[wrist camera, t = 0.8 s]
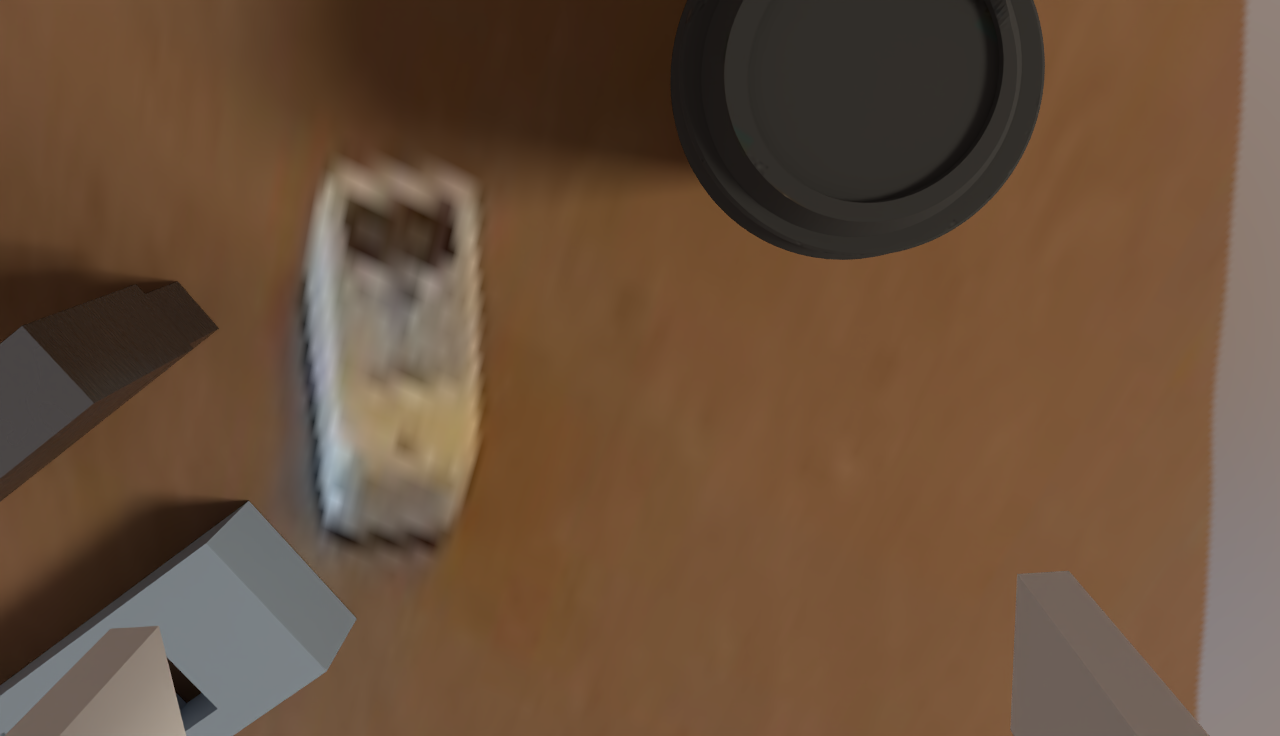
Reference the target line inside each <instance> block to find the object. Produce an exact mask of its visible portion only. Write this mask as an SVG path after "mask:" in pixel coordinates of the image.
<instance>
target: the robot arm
mask: <svg viewBox="0 0 1280 736" xmlns="http://www.w3.org/2000/svg"><path fill="white" fill-rule="evenodd" d="M1011 732H1012V733H1013V735H1014V736H1209V735H1208V734H1207V733H1206V731H1205V730H1204V729H1203V728H1202V727H1201V726H1200V724H1199V723H1198V722H1197V721H1196V720H1195V718H1194V717H1193V716H1192V715H1191V714H1190V713H1189V711H1188V710H1187V709H1186V708H1185V707H1184V706H1183V704H1182V703H1181V702H1180V701H1179V700H1178V698H1177V697H1176V696H1175V695H1174V694H1173V693H1172V691H1171V690H1170V689H1169V688H1168V687H1167V686H1166V684H1165V683H1164V682H1163V681H1162V680H1161V679H1160V677H1159V676H1158V675H1157V674H1156V673H1155V671H1154V670H1153V669H1152V668H1151V667H1150V666H1149V664H1148V663H1147V662H1146V661H1145V660H1144V659H1143V657H1142V656H1141V655H1140V654H1139V653H1138V652H1137V650H1136V649H1135V648H1134V647H1133V646H1132V644H1131V643H1130V642H1129V641H1128V640H1127V639H1126V637H1125V636H1124V635H1123V634H1122V633H1121V632H1120V630H1119V629H1118V628H1117V627H1116V626H1115V625H1114V623H1113V622H1112V621H1111V620H1110V619H1109V617H1108V616H1107V615H1106V614H1105V613H1104V612H1103V610H1102V609H1101V608H1100V607H1099V606H1098V605H1097V603H1096V602H1095V601H1094V600H1093V599H1092V598H1091V596H1090V595H1089V594H1088V593H1087V592H1086V590H1085V589H1084V588H1083V587H1082V586H1081V585H1080V583H1079V582H1078V581H1077V580H1076V579H1075V578H1074V576H1073V575H1072V574H1071V573H1070V572H1069V571H1061V572H1044V573H1028V574H1017V592H1016V615H1015V639H1014V662H1013V685H1012V708H1011ZM5 736H186V733H185V729H184V725H183V721H182V717H181V713H180V709H179V705H178V701H177V697H176V693H175V689H174V685H173V681H172V677H171V673H170V669H169V665H168V661H167V657H166V653H165V648H164V644H163V640H162V636H161V632H160V628H159V626H147V627H131V628H114V629H110V630H109V631H108V632H107V633H106V634H105V635H104V636H103V637H102V638H101V639H100V640H99V641H98V642H97V643H96V644H95V645H94V646H93V647H92V648H91V649H90V650H89V651H88V652H87V653H86V654H85V655H84V656H83V657H82V658H81V659H80V660H79V661H78V662H77V663H76V664H75V665H74V666H73V667H72V668H71V669H70V670H69V671H68V672H67V673H66V674H65V675H64V676H63V677H62V678H61V679H60V680H59V681H58V682H57V683H56V684H55V685H54V686H53V687H52V688H51V689H50V690H49V691H48V692H47V693H46V694H45V695H44V696H43V697H42V698H41V699H40V700H39V701H38V702H37V703H36V704H35V705H34V706H33V707H32V708H31V710H30V711H29V712H28V713H27V714H26V715H25V716H24V717H23V718H22V719H21V720H20V721H19V722H18V723H17V724H16V725H15V726H14V727H13V728H12V729H11V730H10V731H9V732H8V733H7V734H6V735H5Z"/></svg>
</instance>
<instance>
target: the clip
mask: <svg viewBox="0 0 1280 736" xmlns="http://www.w3.org/2000/svg"><path fill="white" fill-rule="evenodd" d="M217 329H219V328H218V327H217V326H216V325H215V324H214V323H213V321H212V320H211V319H210V318H209V317H208V316H207V315H206V313H205V312H204V311H203V310H202V309H201V308H200V307H199V305H198V304H197V303H196V302H195V301H194V300H193V299H192V297H191V296H190V295H189V294H188V293H187V292H186V291H185V289H184V288H183V287H182V286H181V285H180V284H179V283H178V282H175V283H172V284H169V285H167V286H164V287H162V288H159V289H157V290H154V291H152V292H149V293H146V294H144V292H143V291H142V290H141V289H140V288H139V287H138V286H137V285H136V284H135V285H132V286H130V287H127V288H124V289H122V290H119V291H116V292H113V293H111V294H108V295H105V296H102V297H100V298H97V299H94V300H91V301H89V302H86V303H83V304H81V305H78V306H75V307H72V308H70V309H67V310H64V311H61V312H59V313H56V314H53V315H50V316H48V317H45V318H42V319H40V320H37V321H34V322H31V323H29V324H26V325H23V326H21V327H20V328H19V329H18V330H17V331H15V332H14V333H13V334H12V335H11V336H9V337H8V338H7V339H6V340H5V341H3V342H2V343H1V344H0V502H1V501H2V500H3V499H4V498H6V497H7V496H8V495H9V494H11V493H12V492H13V491H14V490H16V489H17V488H18V487H19V486H21V485H22V484H23V483H24V482H26V481H27V480H28V479H30V478H31V477H32V476H33V475H35V474H36V473H37V472H38V471H40V470H41V469H42V468H43V467H45V466H46V465H47V464H48V463H50V462H51V461H52V460H53V459H55V458H56V457H57V456H59V455H60V454H61V453H62V452H64V451H65V450H66V449H67V448H69V447H70V446H71V445H72V444H74V443H75V442H76V441H77V440H79V439H80V438H81V437H83V436H84V435H85V434H86V433H88V432H89V431H90V430H91V429H93V428H94V427H95V426H96V425H98V424H99V423H100V422H101V421H103V420H104V419H105V418H106V417H108V416H109V415H110V414H112V413H113V412H114V411H115V410H117V409H118V408H119V407H120V406H122V405H123V404H124V403H125V402H127V401H128V400H129V399H130V398H132V397H133V396H134V395H135V394H137V393H138V392H139V391H141V390H142V389H143V388H144V387H146V386H147V385H148V384H149V383H151V382H152V381H153V380H154V379H156V378H157V377H158V376H159V375H161V374H162V373H163V372H164V371H166V370H167V369H168V368H170V367H171V366H172V365H173V364H175V363H176V362H177V361H178V360H180V359H181V358H182V357H183V356H185V355H186V354H187V353H188V352H190V351H191V350H192V349H193V348H195V347H196V346H197V345H198V344H200V343H201V342H202V341H203V340H205V339H206V338H207V337H209V336H210V335H211V334H212V333H214V332H215V331H216V330H217Z"/></svg>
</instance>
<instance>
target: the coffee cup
mask: <svg viewBox="0 0 1280 736" xmlns="http://www.w3.org/2000/svg"><path fill="white" fill-rule="evenodd" d="M1044 71H1045V59H1044V45H1043V37H1042V31H1041V26H1040V21H1039V17H1038V14H1037V10H1036V7H1035V4H1034V1H1033V0H687V3H686V5H685V8H684V10H683V13H682V16H681V19H680V22H679V26H678V29H677V33H676V37H675V42H674V48H673V54H672V63H671V99H672V107H673V114H674V119H675V124H676V128H677V132H678V135H679V139H680V142H681V145H682V147H683V150H684V152H685V155H686V157H687V159H688V162H689V164H690V166H691V168H692V169H693V171H694V173H695V175H696V177H697V178H698V180H699V181H700V183H701V184H702V186H703V187H704V189H705V190H706V191H707V193H708V194H709V195H710V197H711V198H712V199H713V200H714V201H715V203H716V204H717V205H718V206H719V207H720V208H721V209H722V210H723V211H724V212H725V213H726V214H727V215H728V216H729V217H730V218H732V219H733V220H734V221H735V222H736V223H738V224H739V225H740V226H742V227H743V228H744V229H746V230H747V231H749V232H750V233H752V234H753V235H755V236H757V237H759V238H760V239H762V240H764V241H766V242H768V243H770V244H772V245H774V246H777V247H779V248H782V249H785V250H787V251H790V252H794V253H797V254H801V255H806V256H810V257H816V258H824V259H839V260H845V259H862V258H869V257H875V256H880V255H884V254H889V253H893V252H898V251H902V250H906V249H910V248H913V247H916V246H919V245H922V244H924V243H927V242H929V241H932V240H934V239H936V238H938V237H940V236H942V235H944V234H946V233H948V232H949V231H951V230H953V229H954V228H956V227H957V226H959V225H961V224H962V223H963V222H965V221H966V220H968V219H969V218H970V217H972V216H973V215H974V214H975V213H976V212H978V211H979V210H980V209H981V208H982V207H983V206H984V205H985V204H986V203H987V202H988V201H989V200H990V199H991V198H992V197H993V196H994V195H995V194H996V193H997V192H998V191H999V189H1000V188H1001V187H1002V186H1003V184H1004V183H1005V182H1006V180H1007V179H1008V178H1009V176H1010V175H1011V173H1012V172H1013V170H1014V169H1015V167H1016V166H1017V164H1018V162H1019V160H1020V159H1021V157H1022V155H1023V153H1024V151H1025V149H1026V147H1027V145H1028V142H1029V140H1030V138H1031V135H1032V133H1033V130H1034V127H1035V124H1036V121H1037V117H1038V113H1039V109H1040V105H1041V100H1042V94H1043V86H1044Z"/></svg>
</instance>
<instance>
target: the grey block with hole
mask: <svg viewBox="0 0 1280 736" xmlns="http://www.w3.org/2000/svg"><path fill="white" fill-rule="evenodd" d="M355 621H356V618H355V616H354V615H353V614H352V613H351V612H350V611H349V610H348V609H347V608H346V607H345V606H344V604H343V603H342V602H341V601H340V600H339V599H338V598H337V597H336V596H335V595H334V594H333V592H332V591H331V590H330V589H329V588H328V587H327V586H326V585H325V584H324V583H323V581H322V580H321V579H320V578H319V577H318V576H317V575H316V574H315V573H314V572H313V571H312V569H311V568H310V567H309V566H308V565H307V564H306V563H305V562H304V561H303V560H302V558H301V557H300V556H299V555H298V554H297V553H296V552H295V551H294V550H293V549H292V548H291V546H290V545H289V544H288V543H287V542H286V541H285V540H284V539H283V538H282V537H281V536H280V534H279V533H278V532H277V531H276V530H275V529H274V528H273V527H272V526H271V525H270V523H269V522H268V521H267V520H266V519H265V518H264V517H263V516H262V515H261V514H260V513H259V511H258V510H257V509H256V508H255V507H254V506H253V505H252V504H251V503H250V502H249V501H248V502H246V503H245V504H244V505H242V506H241V507H240V508H238V509H237V510H236V511H234V512H233V513H232V514H230V515H229V516H228V517H226V518H225V519H224V520H222V521H221V522H220V523H218V524H217V525H215V526H214V527H213V528H211V529H210V530H209V531H207V532H206V533H205V534H203V535H202V536H201V537H199V538H198V539H197V540H195V541H194V542H193V543H191V544H190V545H189V546H187V547H186V548H185V549H183V550H182V551H181V552H179V553H178V554H176V555H175V556H174V557H172V558H171V559H170V560H168V561H167V562H166V563H164V564H163V565H162V566H160V567H159V568H158V569H156V570H155V571H154V572H152V573H151V574H150V575H148V576H147V577H146V578H144V579H143V580H141V581H140V582H139V583H137V584H136V585H135V586H133V587H132V588H131V589H129V590H128V591H127V592H125V593H124V594H123V595H121V596H120V597H119V598H117V599H116V600H115V601H113V602H112V603H111V604H109V605H108V606H107V607H105V608H104V609H102V610H101V611H100V612H98V613H97V614H96V615H94V616H93V617H92V618H90V619H89V620H88V621H86V622H85V623H84V624H82V625H81V626H80V627H78V628H77V629H76V630H74V631H73V632H72V633H70V634H69V635H67V636H66V637H65V638H63V639H62V640H61V641H59V642H58V643H57V644H55V645H54V646H53V647H51V648H50V649H49V650H47V651H46V652H45V653H43V654H42V655H41V656H39V657H38V658H37V659H35V660H34V661H33V662H31V663H30V664H28V665H27V666H26V667H24V668H23V669H22V670H20V671H19V672H18V673H16V674H15V675H14V676H12V677H11V678H10V679H8V680H7V681H6V682H4V683H3V684H2V685H0V736H5V735H6V734H7V733H8V732H9V731H10V730H11V729H12V728H13V727H14V726H15V725H16V724H17V723H18V722H19V721H20V720H21V719H22V718H23V717H24V716H25V715H26V714H27V713H28V712H29V711H30V710H31V708H32V707H33V706H34V705H35V704H36V703H37V702H38V701H39V700H40V699H41V698H42V697H43V696H44V695H45V694H46V693H47V692H48V691H49V690H50V689H51V688H52V687H53V686H54V685H55V684H56V683H57V682H58V681H59V680H60V679H61V678H62V677H63V676H64V675H65V674H66V673H67V672H68V671H69V670H70V669H71V668H72V667H73V666H74V665H75V664H76V663H77V662H78V661H79V660H80V659H81V658H82V657H83V656H84V655H85V654H86V653H87V652H88V651H89V650H90V649H91V648H92V647H93V646H94V645H95V644H96V643H97V642H98V641H99V640H100V639H101V638H102V637H103V636H104V635H105V634H106V633H107V632H108V631H109V630H110V629H114V628H131V627H147V626H159V628H160V632H161V636H162V640H163V644H164V648H165V653H166V657H167V658H168V659H169V660H170V661H171V662H172V663H173V664H174V665H175V666H176V667H177V668H178V669H179V670H180V671H181V672H182V673H183V674H184V675H185V676H186V677H187V678H188V679H189V680H190V681H191V682H192V683H193V684H194V685H195V686H196V687H197V688H198V689H199V690H200V691H201V692H202V693H201V694H199V695H198V696H196V697H195V698H193V699H192V700H191V701H189V702H188V703H186V702H185V701H184V700H183V699H182V698H181V697H180V696H179V695H178V694H177V693H176V692H175V693H176V697H177V701H178V705H179V709H180V713H181V717H182V721H183V725H184V729H185V733H186V736H233V735H234V734H236V733H237V732H239V731H240V730H242V729H243V728H245V727H246V726H248V725H249V724H250V723H252V722H253V721H255V720H256V719H258V718H259V717H261V716H262V715H264V714H265V713H266V712H268V711H269V710H271V709H272V708H274V707H275V706H277V705H278V704H280V703H281V702H282V701H284V700H285V699H287V698H288V697H290V696H291V695H293V694H294V693H296V692H297V691H299V690H300V689H301V688H303V687H304V686H306V685H307V684H309V683H310V682H312V681H313V680H315V679H316V678H317V677H319V676H320V675H322V674H323V673H325V672H326V671H327V670H328V668H329V666H330V664H331V663H332V661H333V659H334V657H335V656H336V654H337V652H338V650H339V649H340V647H341V645H342V643H343V642H344V640H345V638H346V636H347V635H348V633H349V631H350V629H351V628H352V626H353V624H354V622H355ZM5 733H6V734H5Z"/></svg>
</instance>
